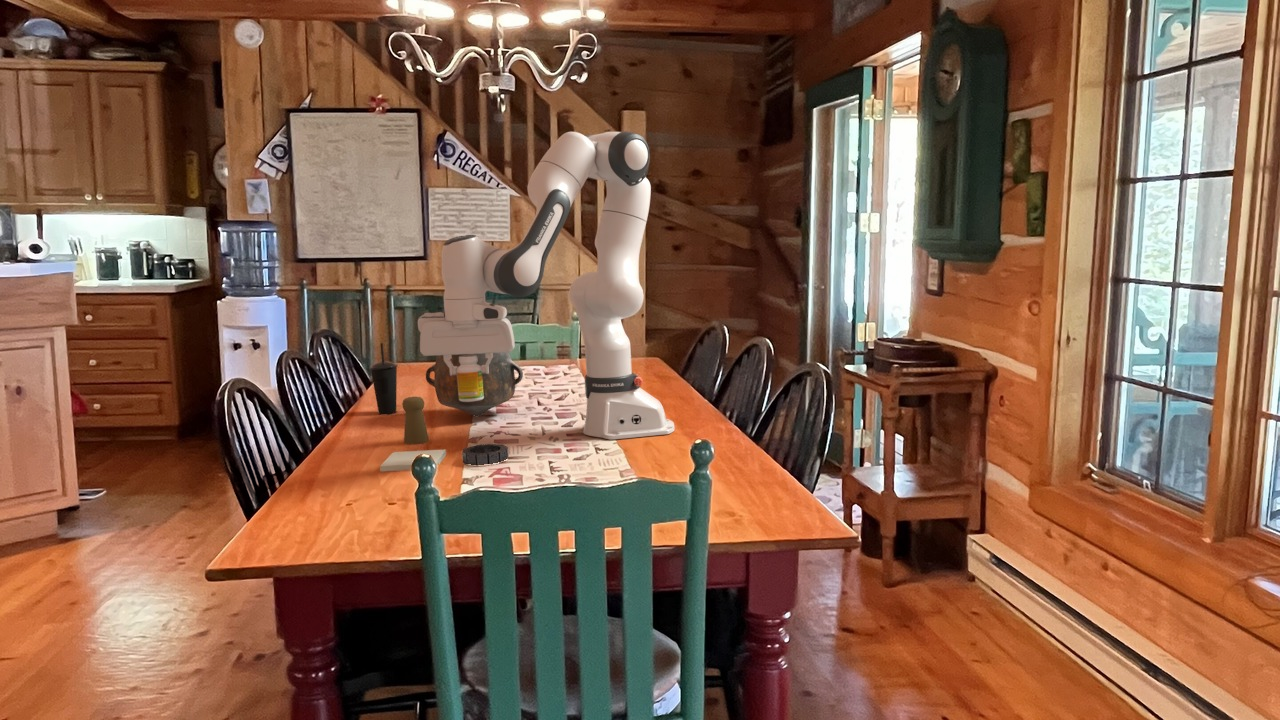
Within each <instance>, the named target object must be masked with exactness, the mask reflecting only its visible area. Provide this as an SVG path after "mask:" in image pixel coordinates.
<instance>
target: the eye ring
mask: <svg viewBox="0 0 1280 720" xmlns="http://www.w3.org/2000/svg"><path fill="white" fill-rule="evenodd" d="M461 456H462V463H463V464H464V465H466V464H471V465H484V464H493V463H498V462H501V461H504V460H506V459H507V458H508V457H509V446H507V445H505V444H501V443H483V444H482V443H481V444H477V445H472V446H467V447H466V448H463V450H462V451H461ZM508 459H509V458H508Z"/></svg>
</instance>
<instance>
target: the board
mask: <svg viewBox="0 0 1280 720" xmlns="http://www.w3.org/2000/svg"><path fill="white" fill-rule="evenodd" d="M420 454H429V455H431V456H432V457H433V458H434V460H435V461H436V463H437V466H438V463H439V465H440V464H441V463H442V462H443V460H444V459H445V457H446V456H447V449H430V450H428V449H427V450H408V451H407V450H406V451H394V452H392V453H391V454H390V455H389V456H388V457H387V458H386V459H385V460H384V461H383V463H382V464H381V465H380V466H379V468H380V470H379V471H380V472H395V471H396V472H399V471H411V470H410V469H411V464H412V461H413V459H414V458H415V457H416V456H417V455H420ZM438 467H439V466H438Z"/></svg>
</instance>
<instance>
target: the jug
mask: <svg viewBox="0 0 1280 720" xmlns="http://www.w3.org/2000/svg"><path fill="white" fill-rule="evenodd" d="M464 355H477V358H478V362H477V365H480V366H482V365H485V364H486V362H487V360H488V358H486V357H485V353H482V354H459V355H451V356H452V358H451V359H450V361H451V363H452V364H453V366H457V368H458V367H459V366H460V365H461V364H460V363H459V356H464ZM515 371H516V372H517V374H518V377H517V378H516V376H515ZM432 372H433V375H434V378H433V379H432V378H431V373H432ZM523 376H524V373H523V369H522V368H521V366H520V365H518V364H517V363H515V361H513V360H512V357H511V355H510V352H505V353H493V358H492V360H491V362H490V364H489V373H488V374H482V380H483V393H484V398H483V399H482V400H479V401H472V402H462V401H460V400H459V394H458V381H457V375H450V369H449V367H448V366H447V364H446V363H445V361H444V357H443V355H436V359H435V363H433V365H431V366H430V367H428V368H427V370H426V372H425V380H426V382H427V383H428V385H430V386H432V387H434V390H435V394H436V399H437V400H438V402H439V404H440V405H442V406H445V407H448V408H453V409H456V410H459V411H462V412H464V413H466V414H469V415H470V416H473V417H476V416H478V417H481V416H482V415H484V414H485V413H486V412H488V411H489V410H490V409H493V408H496V407H497V406H500V405H502V404H504V403H506V402H509V400H512V398H513V397H514V395H515V391H516V385H518V384H519V383H520V382H521V381H522V380H523Z"/></svg>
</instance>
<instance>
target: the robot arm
mask: <svg viewBox="0 0 1280 720" xmlns="http://www.w3.org/2000/svg"><path fill="white" fill-rule="evenodd" d="M650 160H651V154H650V148H649V145H648V143H647V140H646V139H645V138H644V137H643V136H642V135H640V134H638V133H635V132H631V131H605V132H601V133H597V134H589V135H584V134H582V133H581V132H577V131H567V132H565V133H563V134H562V135H561V136H559V137H558V138H557V139H556V141H554V143H553V144H552V145H551V146H550V147H549V149H547V151H546V152H545V153H544V155H543V156H542V158H541V159H540V161H538V162H539V163H538V164H537V165H536V166H535V169H534V170H533V172H532V174H531V176H530V178H529V181H528V184H527V193H528V197H529V199H530V201H531V203H532V205H534V206H535V207H536V210H535V211H536V213H535V214H534V216H533V219H532V221H531V223H530V225H529V227H528V228H527V231H525V234H524V236H523V238H522V240H521V241H520V242H519V243H518V244H517V245H516V246H514V247H512V248H511V249H504V248H500V247H497V246H494V245H492V244H489V243H487V242H486V241H484V240H483V239H481V238H479V236H478V235H475V234H466V235H461V236H455V237H452V238H450V239H448V240H446V241H445V242H444V243H443V246H442V249H441V277H442V278H441V280H442V282H443V285H444V293H443V308H444V311H439V312H425V313H424V314H422V315H421V316H419V317H418V319H417V329H418V331H419V332H420V334H419V335H420V336H419V338H420V339H419V351H420V353H421V354H422V356H423V357H430V356H431V357H433V356H436V357H437V355H443V357H444V361H445V363H446V364H447V366H448V367H449V369H450V375H457V366H453V364H452V363H451V361H450V359H451V358H452V356H451V355H459V354H482V353H485V357H486V358H488V360H487V362H486V364H485V365H482V366H481V370H482V371H481V373H482V374H488V373H489V364H490V362H491V360H492V358H493V353H505V352H509V353H511V352H512V351H513V350H514V349H515V347H516V346H515V345H516V344H515V343H516V342H515V341H516V340H515V334H514V330H513V326H512V323H511V321H510V320H509V318H506V317H507V315H508V310H507V308H506V307H505V306H502V305H498V304H494V303H490V302H487V301H486V293H487V292H492V293H497V294H503V295H508V296H511V297H515V298H524V297H527V296H530V295H532V294H533V293H534V292H536V290H537V289H538V288H539V286H540V285H541V283H542V281H543V277H544V271H545V265H546V261H547V259H548V256H549V254H550V252H551V251H552V248H553V246H554V245H555V242H556V240H557V238H558V237H559V235H560V233H561V230H562V229H563V227H564V225H565V223H566V220H567V219H568V216H569V213H570V210H571V207H572V204H573V203H574V201H575V199H576V198H577V196H578V195H579V193H580V191H581V190H582V188H583V187H584V185H585V183H586V181H587V179H588V180H590V181H596V180H597V181H605V185H606V197H605V200H604V203H603V206H602V210H601V214H600V218H599V223H598V227H597V230H596V235H595V239H594V247H595V248H596V253H597V268H596V271H589V272H586V273H583V274H581V275H579V276H577V277H576V278H575V279H574V280H573V281H572V282H571V285H570V286H569V291H568V296H569V300H570V302H571V304H572V306H573V308H574V309H575V312H576V315H577V318H578V322H579V327H580V330H581V334H582V338H583V343H584V353H585V370H586V375H585V377H584V393H585V398H586V413H585V420H584V427H583V431H582V433H583V434H584V435H586V436H590V437H596V438H603V439H605V440H620V439H631V438H640V437H641V438H642V437H653V436H661V435H669V434H672V433H674V431H675V429H676V428H675V423H674V421H672V420H671V419H669V418H666V413H665V410H664V407H663V405H662V403H661V402H660V400H659V399H657V398H656V397H654V396H653V395H651V394H650V393H649V392H647V391H646V390H644V389H643V388H641V386H642V384H643V381H644V380H643V378H642V377H641V376H639V374H636V373H634V372H632V352H631V350H632V349H631V341H630V338H629V337H628V335H627V334H626V332H625V329H624V325H623V323H622V320H624V319H627V318H628V319H629V318H630V317H633V316H635V315H636V314H637V313H638V312H639V311H640V310H641V308H642V306H643V304H644V299H645V296H644V290H643V287H642V285H641V283H640V272H639V271H640V269H639V268H640V267H639V266H640V264H639V263H640V252H641V247H642V243H643V238H644V234H645V230H646V226H647V225H646V224H647V221H648V216H649V212H650V211H649V210H650V204H651V196H652V195H651V192H652V190H651V189H652V186H651V182H650V181H649V179H648V178H647V175H648V173H649V167H650Z"/></svg>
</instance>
